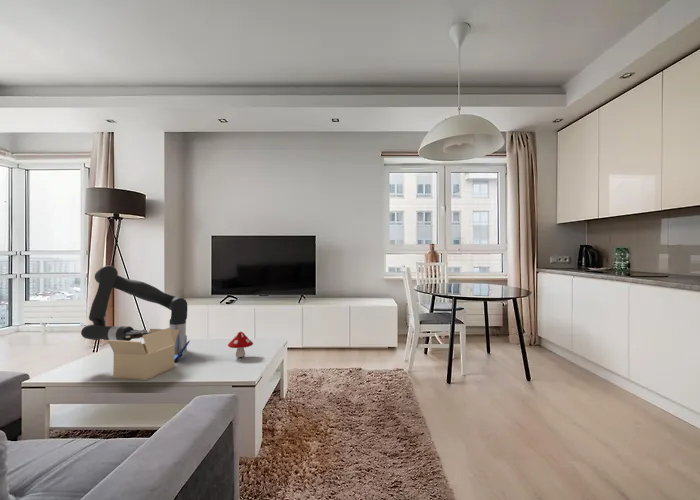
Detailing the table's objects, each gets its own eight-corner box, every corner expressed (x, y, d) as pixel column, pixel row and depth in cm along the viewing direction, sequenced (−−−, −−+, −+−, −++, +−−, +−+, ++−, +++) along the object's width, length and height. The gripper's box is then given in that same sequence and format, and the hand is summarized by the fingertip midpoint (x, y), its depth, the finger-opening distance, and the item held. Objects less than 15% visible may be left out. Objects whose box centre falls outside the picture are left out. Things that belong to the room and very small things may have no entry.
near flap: (168, 328, 191) (169, 327, 191) (173, 344, 190) (174, 344, 190) (142, 335, 172) (143, 335, 172) (148, 353, 172) (148, 353, 172)
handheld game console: (165, 356, 212) (165, 341, 213) (190, 355, 215) (190, 339, 216) (157, 364, 197) (158, 347, 197) (184, 362, 200) (184, 346, 200)
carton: (148, 363, 198) (149, 328, 198) (179, 365, 195) (179, 329, 195) (105, 380, 170) (105, 340, 170) (140, 383, 167) (140, 341, 167)
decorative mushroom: (222, 360, 205) (222, 333, 205) (235, 353, 218) (235, 328, 219) (244, 361, 202) (245, 334, 202) (256, 355, 215) (257, 329, 215)
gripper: (110, 328, 179) (141, 329, 176) (131, 324, 192) (160, 325, 189) (110, 344, 178) (141, 345, 175) (130, 338, 191) (160, 339, 188)
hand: (151, 334), depth 182 cm, fingers closed
